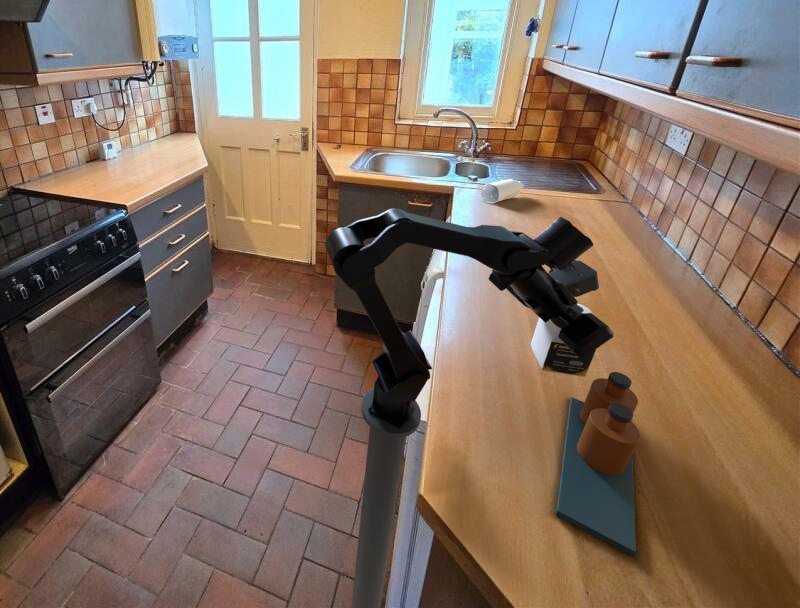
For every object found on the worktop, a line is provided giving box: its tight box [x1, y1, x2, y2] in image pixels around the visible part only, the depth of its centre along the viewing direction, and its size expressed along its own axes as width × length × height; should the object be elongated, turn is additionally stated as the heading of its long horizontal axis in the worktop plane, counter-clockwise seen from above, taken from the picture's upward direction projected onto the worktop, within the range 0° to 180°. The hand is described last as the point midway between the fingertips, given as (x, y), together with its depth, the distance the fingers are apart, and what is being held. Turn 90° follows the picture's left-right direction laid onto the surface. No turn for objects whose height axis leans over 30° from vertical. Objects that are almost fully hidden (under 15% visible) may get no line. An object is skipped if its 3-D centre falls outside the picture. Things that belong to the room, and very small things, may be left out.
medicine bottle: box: [530, 302, 597, 378], centre depth 73 cm, size 7×7×12 cm
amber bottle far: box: [580, 371, 639, 425], centre depth 66 cm, size 6×6×10 cm
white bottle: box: [480, 178, 525, 204], centre depth 165 cm, size 8×19×8 cm, turn 117°
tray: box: [555, 397, 637, 557], centre depth 62 cm, size 8×24×1 cm, turn 144°
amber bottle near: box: [577, 403, 641, 475], centre depth 61 cm, size 6×6×10 cm
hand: (574, 332), depth 73 cm, fingers closed on medicine bottle, 8 cm apart
